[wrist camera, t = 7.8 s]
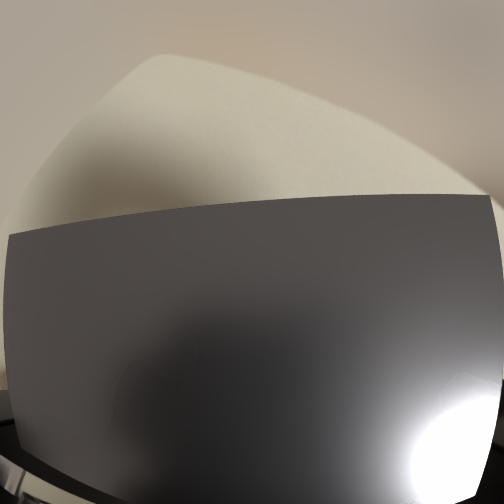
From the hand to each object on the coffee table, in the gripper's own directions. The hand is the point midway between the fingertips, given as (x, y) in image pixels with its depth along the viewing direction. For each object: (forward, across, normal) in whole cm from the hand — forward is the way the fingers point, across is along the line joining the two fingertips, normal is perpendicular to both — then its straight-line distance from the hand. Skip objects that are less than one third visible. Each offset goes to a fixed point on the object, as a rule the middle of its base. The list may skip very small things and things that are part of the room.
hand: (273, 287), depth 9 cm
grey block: (+4, 0, +8) cm, 9 cm away
